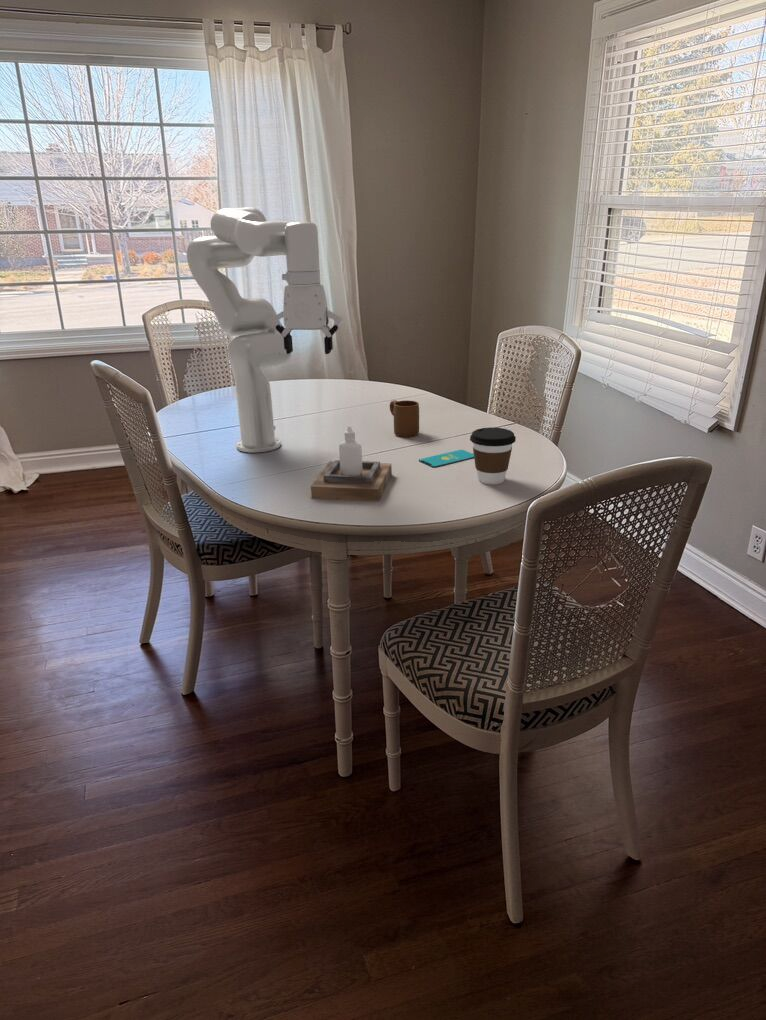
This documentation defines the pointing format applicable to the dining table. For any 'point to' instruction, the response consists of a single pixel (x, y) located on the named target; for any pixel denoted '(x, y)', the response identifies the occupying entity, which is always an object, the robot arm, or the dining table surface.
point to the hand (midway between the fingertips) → (308, 352)
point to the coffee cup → (492, 453)
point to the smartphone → (447, 458)
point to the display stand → (352, 482)
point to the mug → (405, 418)
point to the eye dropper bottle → (350, 455)
